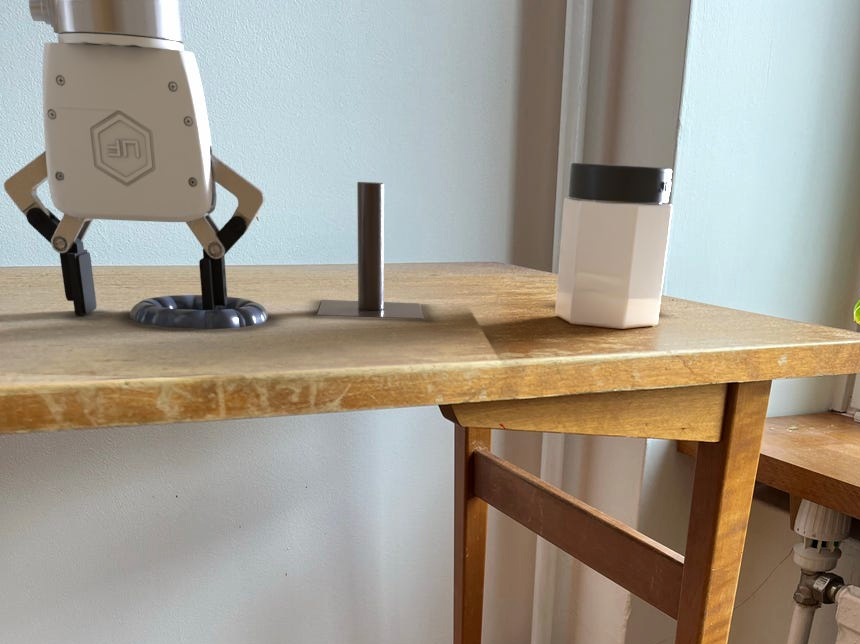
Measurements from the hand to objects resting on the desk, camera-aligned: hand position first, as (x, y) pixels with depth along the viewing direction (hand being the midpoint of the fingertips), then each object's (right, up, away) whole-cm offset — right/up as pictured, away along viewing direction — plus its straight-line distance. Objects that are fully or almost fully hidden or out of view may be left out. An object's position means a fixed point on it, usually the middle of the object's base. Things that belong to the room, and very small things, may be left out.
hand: (149, 313), depth 69 cm
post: (+15, +2, +8) cm, 17 cm away
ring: (+3, 0, 0) cm, 4 cm away
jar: (+34, +4, +15) cm, 38 cm away
